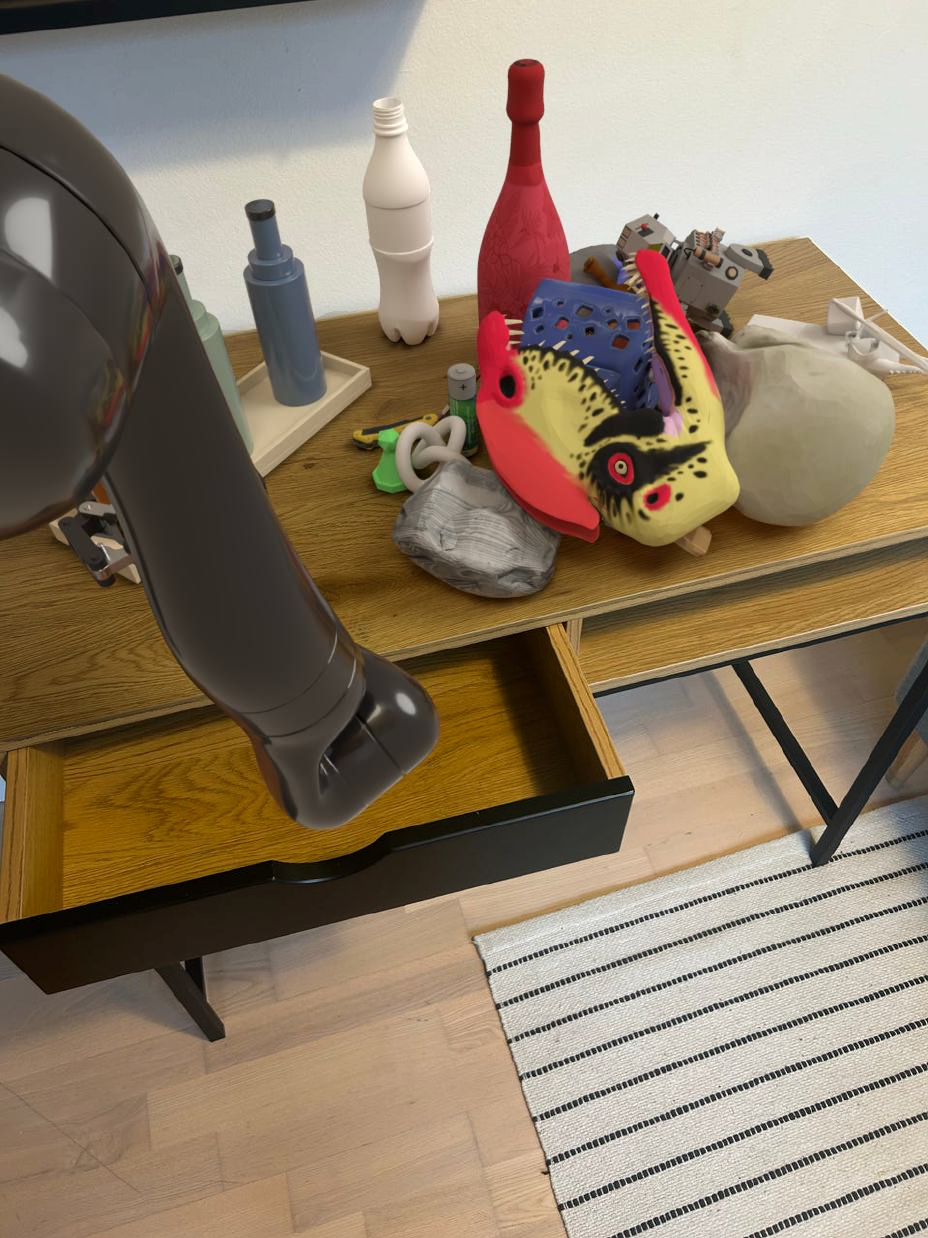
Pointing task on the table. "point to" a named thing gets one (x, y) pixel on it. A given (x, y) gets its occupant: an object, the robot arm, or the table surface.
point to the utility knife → (371, 435)
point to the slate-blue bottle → (282, 311)
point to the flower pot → (596, 335)
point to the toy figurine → (605, 279)
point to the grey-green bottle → (216, 354)
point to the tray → (277, 422)
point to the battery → (464, 403)
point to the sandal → (689, 539)
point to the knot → (428, 448)
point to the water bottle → (400, 228)
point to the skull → (796, 423)
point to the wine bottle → (521, 213)
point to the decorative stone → (476, 534)
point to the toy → (608, 428)
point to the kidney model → (605, 260)
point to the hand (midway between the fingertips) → (130, 462)
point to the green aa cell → (448, 407)
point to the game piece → (388, 464)
